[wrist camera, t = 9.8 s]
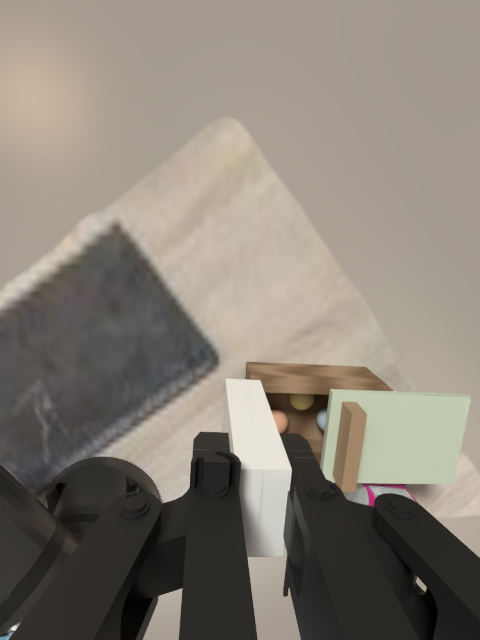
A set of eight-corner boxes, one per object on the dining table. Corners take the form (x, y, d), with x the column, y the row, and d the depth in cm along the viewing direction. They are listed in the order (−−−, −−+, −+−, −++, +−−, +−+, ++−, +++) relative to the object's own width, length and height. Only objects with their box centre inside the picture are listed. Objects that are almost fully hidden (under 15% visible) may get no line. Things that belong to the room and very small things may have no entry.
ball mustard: (285, 403, 51) (290, 414, 48) (287, 380, 50) (292, 389, 47) (309, 403, 51) (315, 414, 48) (311, 381, 51) (318, 390, 48)
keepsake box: (240, 439, 53) (246, 474, 45) (246, 361, 50) (253, 385, 43) (354, 442, 54) (379, 476, 46) (365, 367, 52) (393, 390, 44)
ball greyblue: (312, 424, 52) (319, 437, 49) (315, 402, 51) (322, 413, 48) (335, 425, 52) (343, 437, 49) (338, 403, 52) (347, 414, 49)
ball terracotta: (260, 426, 51) (263, 439, 48) (262, 404, 51) (266, 415, 48) (284, 427, 52) (289, 439, 49) (286, 405, 51) (291, 416, 48)
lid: (318, 477, 45) (329, 499, 42) (329, 388, 43) (341, 404, 39) (448, 479, 47) (469, 501, 43) (465, 394, 45) (490, 409, 41)
